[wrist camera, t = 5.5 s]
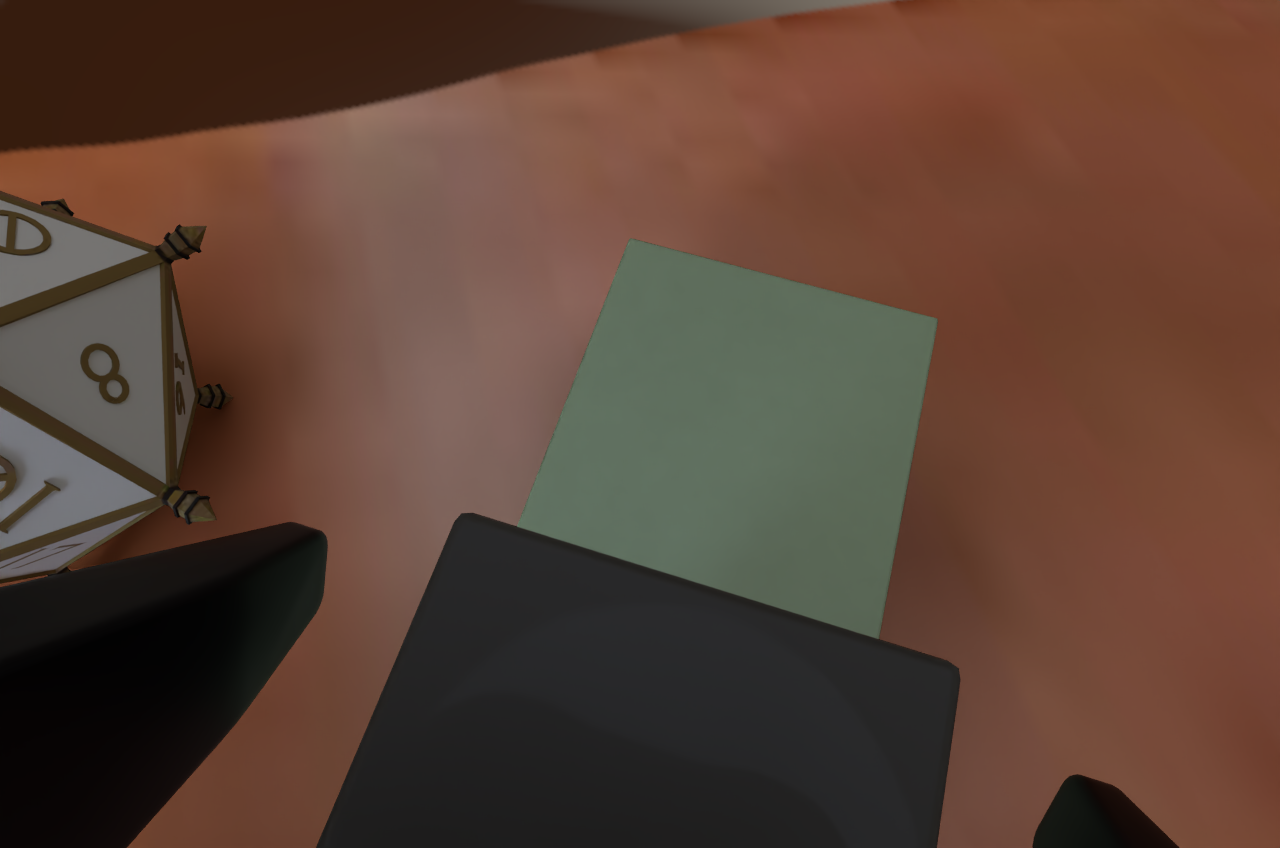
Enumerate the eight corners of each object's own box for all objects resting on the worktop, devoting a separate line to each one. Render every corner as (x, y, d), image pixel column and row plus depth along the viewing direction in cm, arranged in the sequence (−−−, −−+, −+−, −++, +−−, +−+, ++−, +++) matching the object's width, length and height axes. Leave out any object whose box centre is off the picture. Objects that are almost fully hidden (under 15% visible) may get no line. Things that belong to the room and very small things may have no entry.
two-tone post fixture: (780, 926, 14) (1547, 1702, 2) (448, 807, 15) (-277, 928, 3) (891, 390, 19) (1352, -299, 7) (630, 319, 19) (626, -418, 7)
